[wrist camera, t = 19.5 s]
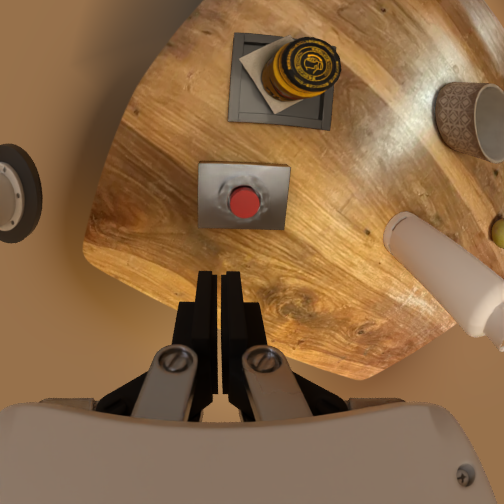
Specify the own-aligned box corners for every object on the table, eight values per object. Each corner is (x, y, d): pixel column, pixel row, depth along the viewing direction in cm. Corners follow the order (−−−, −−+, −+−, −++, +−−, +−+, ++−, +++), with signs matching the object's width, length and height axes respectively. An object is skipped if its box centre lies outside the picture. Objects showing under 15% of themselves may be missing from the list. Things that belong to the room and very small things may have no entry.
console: (198, 222, 41) (196, 233, 37) (199, 160, 37) (197, 165, 33) (281, 224, 42) (286, 235, 38) (287, 164, 38) (294, 169, 34)
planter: (423, 131, 37) (466, 140, 27) (439, 69, 32) (481, 67, 22) (465, 161, 39) (505, 176, 30) (480, 105, 34) (520, 111, 25)
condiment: (274, 114, 32) (299, 112, 21) (238, 59, 28) (246, 30, 18) (323, 89, 31) (367, 80, 20) (289, 35, 27) (319, 2, 16)
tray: (227, 121, 35) (227, 121, 32) (233, 38, 29) (234, 32, 27) (322, 129, 36) (330, 130, 33) (328, 51, 31) (336, 46, 28)
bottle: (423, 212, 43) (540, 300, 18) (413, 253, 47) (511, 353, 22) (388, 210, 43) (513, 311, 18) (378, 254, 46) (478, 370, 21)
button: (229, 213, 37) (229, 218, 35) (230, 186, 35) (230, 189, 34) (257, 214, 37) (258, 218, 36) (258, 187, 36) (260, 190, 34)
